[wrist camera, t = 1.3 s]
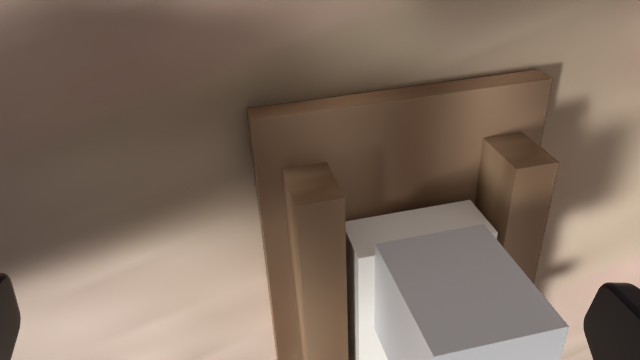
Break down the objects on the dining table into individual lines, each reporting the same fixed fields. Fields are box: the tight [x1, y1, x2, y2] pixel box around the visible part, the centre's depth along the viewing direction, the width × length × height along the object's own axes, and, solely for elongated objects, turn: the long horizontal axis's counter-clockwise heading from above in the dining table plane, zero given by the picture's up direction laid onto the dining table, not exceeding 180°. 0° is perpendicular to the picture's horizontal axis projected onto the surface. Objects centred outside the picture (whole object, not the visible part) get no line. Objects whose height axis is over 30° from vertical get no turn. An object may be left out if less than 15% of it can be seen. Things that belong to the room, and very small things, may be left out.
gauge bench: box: [247, 70, 559, 360], centre depth 24 cm, size 11×22×4 cm, turn 2°
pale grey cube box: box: [345, 200, 569, 360], centre depth 21 cm, size 7×8×7 cm
